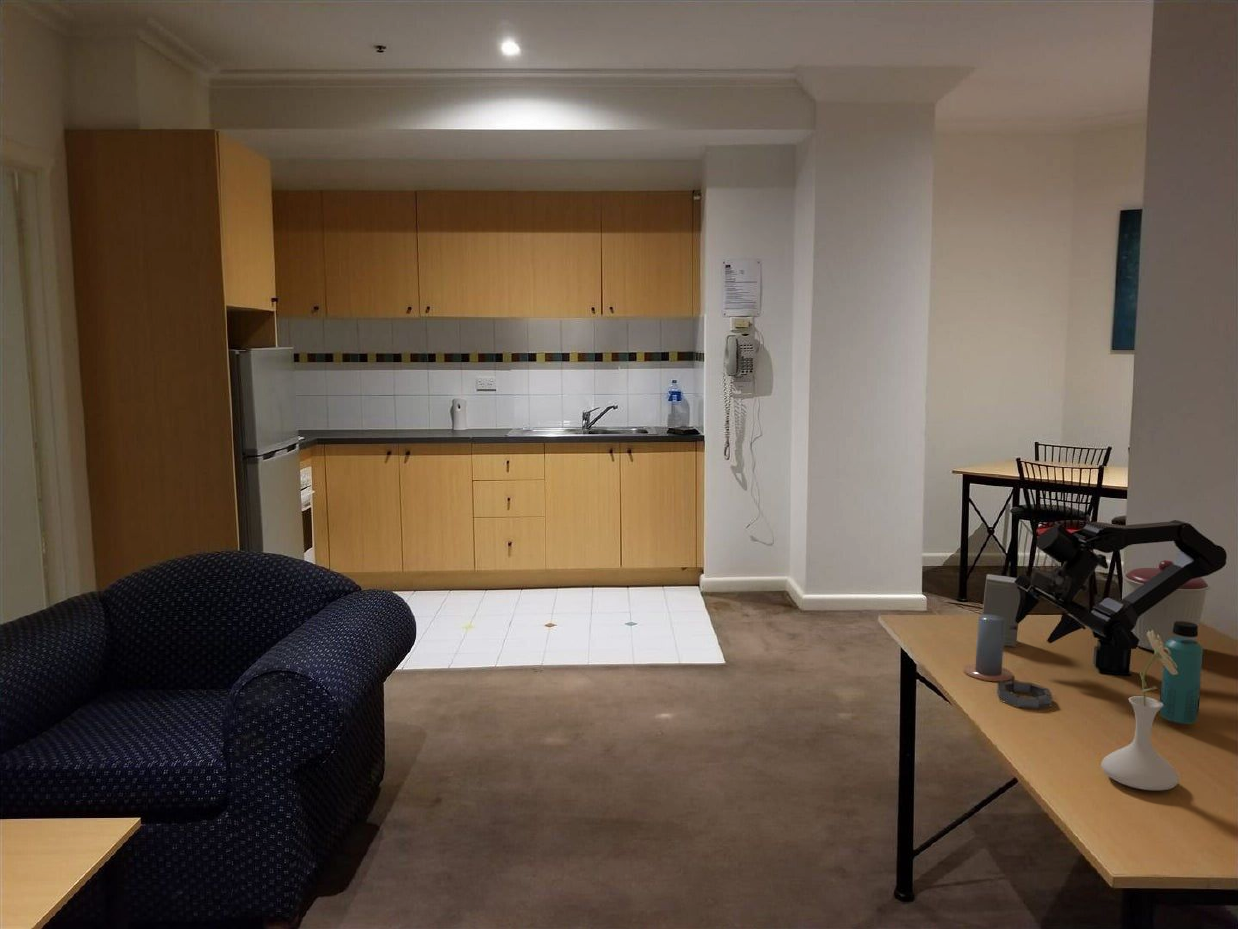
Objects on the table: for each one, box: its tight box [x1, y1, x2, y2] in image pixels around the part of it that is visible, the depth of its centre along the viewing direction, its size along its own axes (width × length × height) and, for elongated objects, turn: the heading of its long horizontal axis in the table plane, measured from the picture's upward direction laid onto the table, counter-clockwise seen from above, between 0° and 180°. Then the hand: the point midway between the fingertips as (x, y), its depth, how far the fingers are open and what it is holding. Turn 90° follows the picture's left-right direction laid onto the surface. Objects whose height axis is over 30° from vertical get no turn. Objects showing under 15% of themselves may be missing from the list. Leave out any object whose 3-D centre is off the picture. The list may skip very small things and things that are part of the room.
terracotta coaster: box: [963, 663, 1014, 682], centre depth 210 cm, size 10×10×1 cm
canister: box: [1122, 559, 1211, 652], centre depth 230 cm, size 18×18×21 cm
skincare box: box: [981, 573, 1020, 648], centre depth 232 cm, size 8×7×16 cm
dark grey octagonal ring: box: [996, 680, 1053, 710], centre depth 196 cm, size 10×10×2 cm
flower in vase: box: [1100, 630, 1180, 791], centre depth 159 cm, size 13×11×25 cm
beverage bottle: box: [1159, 621, 1204, 724], centre depth 183 cm, size 6×7×20 cm
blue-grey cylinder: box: [975, 614, 1005, 676], centre depth 210 cm, size 5×5×12 cm
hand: (1032, 632), depth 211 cm, fingers open, 9 cm apart
